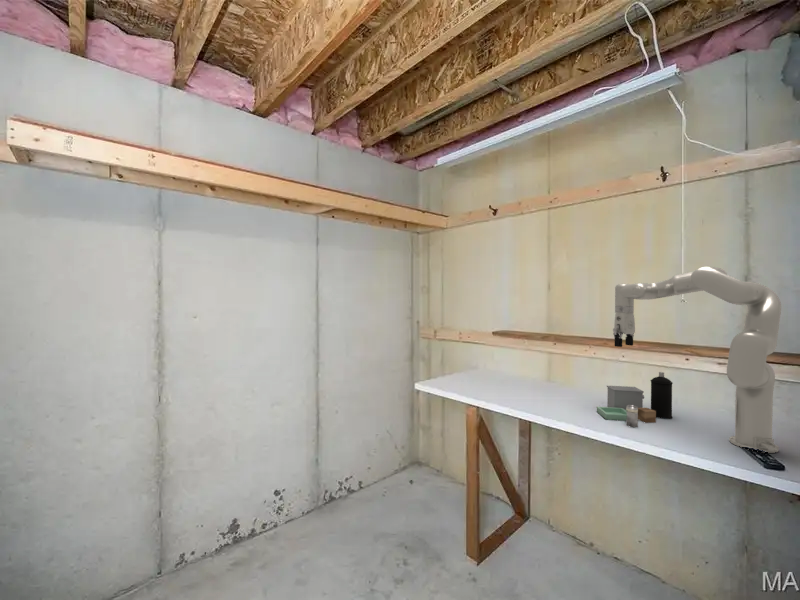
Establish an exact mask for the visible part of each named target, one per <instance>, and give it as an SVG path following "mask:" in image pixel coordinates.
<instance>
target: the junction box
mask: <svg viewBox="0 0 800 600" xmlns="http://www.w3.org/2000/svg"><path fill="white" fill-rule="evenodd" d="M606 388H607V400H606V403H607V404H606V405H607V406H606V407H612V408H623V409H624V410H626V407H627V405H629V404H631V405H635V406H636V407H638V408H644V407H643V406H644V405H643V402H644V399H645V395H644V391H643V390H642V389H640V388H638V387H636V386H626V385H621V386H620V385H606Z"/></svg>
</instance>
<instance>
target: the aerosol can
mask: <svg viewBox="0 0 800 600" xmlns="http://www.w3.org/2000/svg"><path fill="white" fill-rule="evenodd" d="M673 384H674V383H673V381H671V379H670V378H667V377H665V372H662V371H659V372H658V376H656V377H652V379H650V409H652V410H654V411H656V419H657V418H658V419H663V420H672V419H673Z"/></svg>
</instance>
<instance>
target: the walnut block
mask: <svg viewBox="0 0 800 600" xmlns="http://www.w3.org/2000/svg"><path fill="white" fill-rule="evenodd" d="M638 421H640V422H642V423H644V422H645V424H649V423H653V424H654V423H657V417H656V411H654V410H652V409H651V408H649V407H643V408H638Z"/></svg>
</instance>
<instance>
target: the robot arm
mask: <svg viewBox="0 0 800 600" xmlns="http://www.w3.org/2000/svg"><path fill="white" fill-rule="evenodd" d="M614 289H615V290H614V313H615V315H614V325H613V326H614V327H613V328H612V331H613V338H614V347H617V348H622V347H623V338H622V337H623V335H625V345H626V346H631V347H633V346H634V334H636V323H635V321H636V320H635V314H634V312H635V311H634V310H635V300H656V299H661V298H668V297H673V296H680V295H685V294H690V293H697V292H703V291H704V292H706V293H708V294H710V295H712V296H714V297H716V298H718V299H721V300H722V301H725V302H727V303H729V304H732V305H736V306H737V305H738V306H744V305H745V306H747V313H746V317H745V321H744V329H743V331H741V332H738V334H737V333H736V334H735V336H734V337H733V338H732V339H731V342H730V347H729V352H728V358H727V365H726V376H727V378H728V380H729V381H730V383H732V384H733V385H734V386H735V401H734V402H735V404H734V405H735V407H734V408H735V409H734V411H735V415H734V416H735V417H734V419H735V420H734V422H735V423H734V435H732V436H730V437H729V439H728V440H729V442H730V443H731V444H732V445H735V446H737V447H739V446H740V447H739V448H742V447H749V448H754V449H759V450H763V451H766V452H768V454H775V452H776V453H778V452H779V449H780V446H779V445H777V444H775V439H774V438H773V406H774V404H773V403H774V401H773V400H774V399H773V398H774V389H775V382H776V374H775V371H774V369H773V367H772V366H771V365H770V364H769V363H768V362H767V360H768V359H767V358H768V356H769V355H771V354H773V353H774V352H775V351H776V349H777V346H778V345H777V344H778V335H779V330H780V321H781V315H782V303H781V300H780V298H779V296H778V294H777V293H776V292H775V291H774V290H772V289H771V288H770V287H768V286H765V285H764V284H761V283H759V282H754V281H743V280H741V279H738V278H736V277H733V276H731V275H728V273H727V272H726V271H725V270H724V268H723V269H722V268H720V267H716V266H709V265H707V266H701V267H698V268H696V269H695V270H693V271H687V272H683V273H677V274H674V275H673V276H672V277H670V278H668V279H665V280H662V281H656V282H651V283H648V282H637V283H636V282H634V283H620V284H619V283H618V284H616V285H615V287H614Z"/></svg>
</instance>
